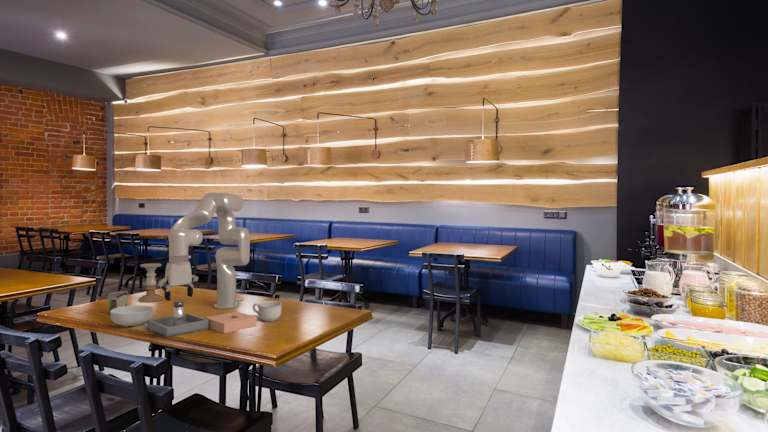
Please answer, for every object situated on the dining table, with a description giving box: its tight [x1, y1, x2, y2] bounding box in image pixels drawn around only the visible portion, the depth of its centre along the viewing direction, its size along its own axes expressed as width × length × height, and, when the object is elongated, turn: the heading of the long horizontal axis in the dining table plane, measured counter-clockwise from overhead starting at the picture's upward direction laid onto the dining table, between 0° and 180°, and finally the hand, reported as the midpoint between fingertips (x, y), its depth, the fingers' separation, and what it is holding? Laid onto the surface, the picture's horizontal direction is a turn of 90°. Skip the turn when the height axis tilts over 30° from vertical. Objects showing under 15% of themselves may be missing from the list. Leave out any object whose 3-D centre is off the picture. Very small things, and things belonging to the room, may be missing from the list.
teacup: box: [251, 300, 282, 322], centre depth 214 cm, size 14×11×8 cm
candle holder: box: [138, 262, 164, 303], centre depth 251 cm, size 12×12×20 cm
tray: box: [146, 312, 209, 339], centre depth 195 cm, size 18×18×4 cm
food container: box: [107, 290, 129, 312], centre depth 220 cm, size 12×6×10 cm, turn 5°
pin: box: [172, 300, 185, 326], centre depth 195 cm, size 4×4×11 cm
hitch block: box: [204, 310, 258, 334], centre depth 201 cm, size 16×16×4 cm
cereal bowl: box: [109, 304, 154, 328], centre depth 201 cm, size 17×17×7 cm
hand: (179, 298), depth 195 cm, fingers open, 9 cm apart
